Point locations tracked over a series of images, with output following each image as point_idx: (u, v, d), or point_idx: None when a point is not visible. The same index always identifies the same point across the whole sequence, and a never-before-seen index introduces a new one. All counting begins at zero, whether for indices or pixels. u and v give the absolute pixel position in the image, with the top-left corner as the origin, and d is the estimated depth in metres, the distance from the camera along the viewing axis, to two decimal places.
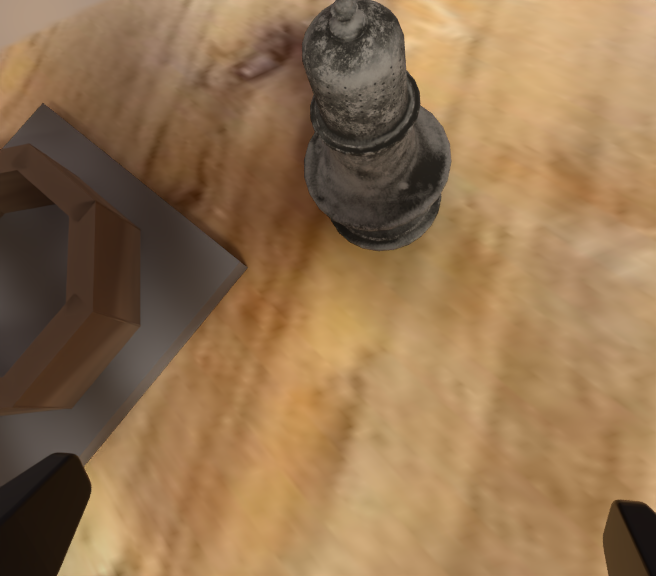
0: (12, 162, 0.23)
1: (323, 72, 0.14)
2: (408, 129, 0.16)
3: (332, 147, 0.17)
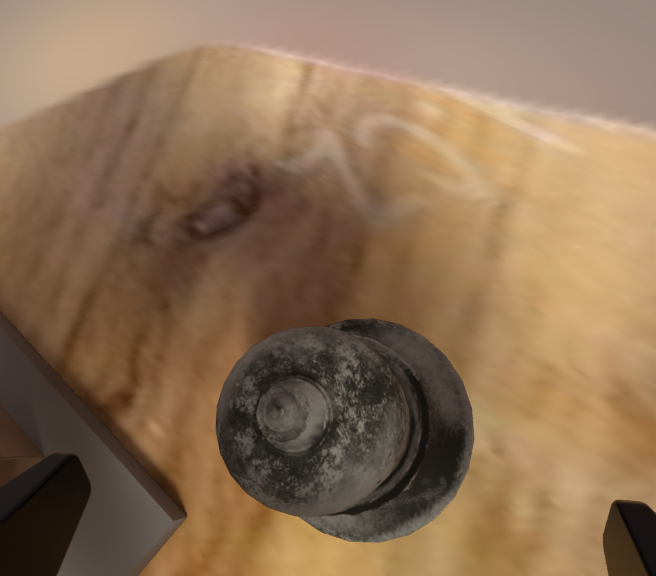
0: None
1: (249, 488, 0.07)
2: (410, 480, 0.10)
3: None
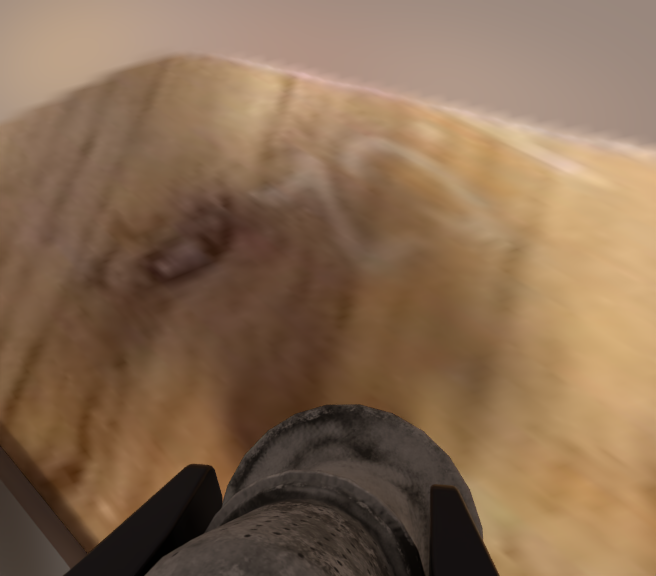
0: None
1: None
2: None
3: None
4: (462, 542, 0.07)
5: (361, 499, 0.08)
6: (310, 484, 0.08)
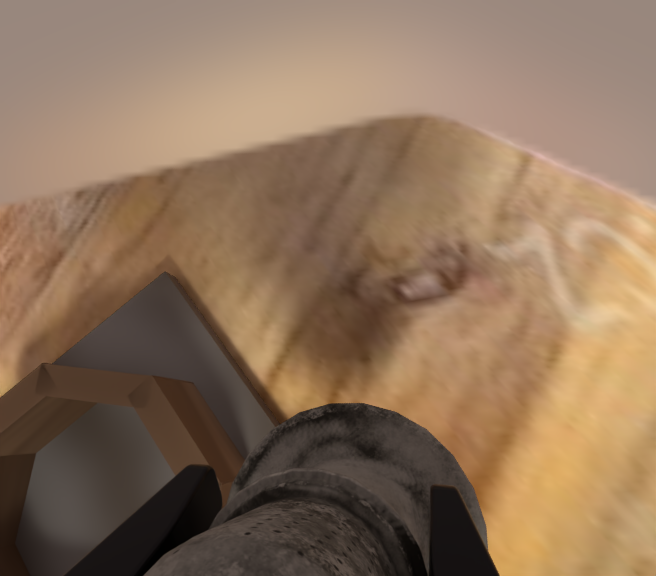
0: (129, 394, 0.19)
1: None
2: None
3: None
4: (462, 542, 0.07)
5: (363, 498, 0.08)
6: (312, 482, 0.08)
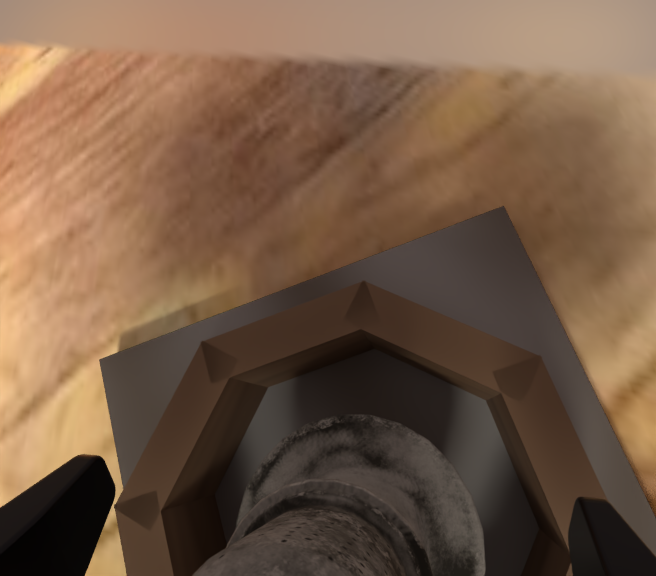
0: (496, 370, 0.12)
1: None
2: None
3: None
4: (637, 560, 0.06)
5: (375, 506, 0.08)
6: (329, 492, 0.09)
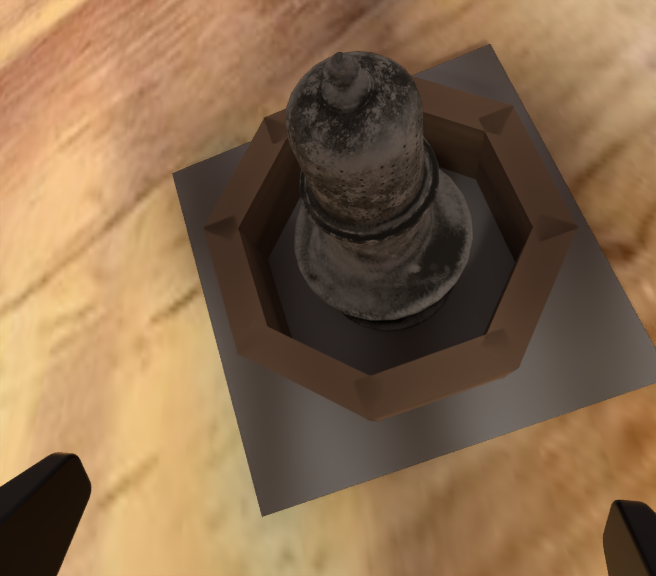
0: (481, 118, 0.17)
1: (312, 150, 0.10)
2: (423, 212, 0.13)
3: (325, 231, 0.13)
4: None
5: None
6: None
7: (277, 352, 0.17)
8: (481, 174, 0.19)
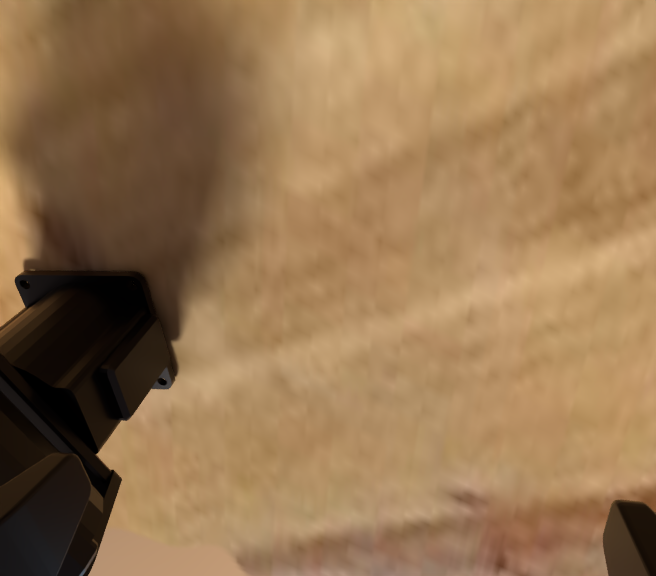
0: None
1: None
2: None
3: None
4: None
5: None
6: None
7: None
8: None
